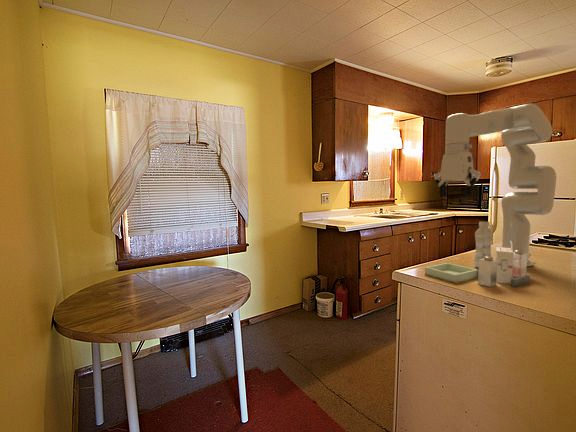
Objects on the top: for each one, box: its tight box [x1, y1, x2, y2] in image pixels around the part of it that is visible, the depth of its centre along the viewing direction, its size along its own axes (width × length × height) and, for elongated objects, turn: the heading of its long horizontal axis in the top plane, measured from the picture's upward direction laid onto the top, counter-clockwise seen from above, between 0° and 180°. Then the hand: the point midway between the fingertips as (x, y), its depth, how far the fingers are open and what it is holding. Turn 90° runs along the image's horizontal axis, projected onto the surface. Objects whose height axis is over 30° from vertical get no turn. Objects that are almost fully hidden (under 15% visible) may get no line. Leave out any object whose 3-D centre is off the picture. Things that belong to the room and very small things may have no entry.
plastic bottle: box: [473, 220, 494, 269], centre depth 126 cm, size 6×7×20 cm
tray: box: [424, 262, 479, 284], centre depth 117 cm, size 14×13×3 cm
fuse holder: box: [477, 250, 531, 288], centre depth 110 cm, size 24×12×10 cm, turn 117°
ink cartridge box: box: [495, 240, 513, 285], centre depth 110 cm, size 9×5×15 cm, turn 148°
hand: (455, 197), depth 109 cm, fingers open, 9 cm apart
